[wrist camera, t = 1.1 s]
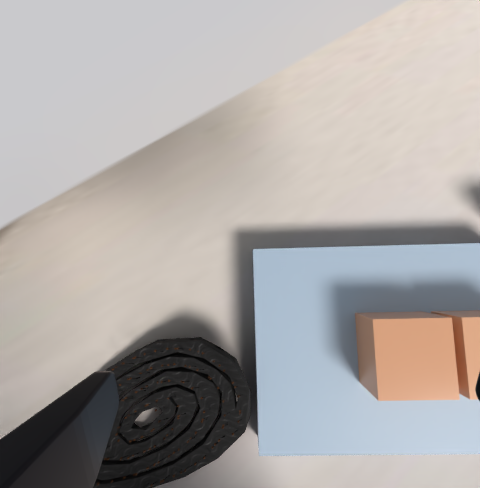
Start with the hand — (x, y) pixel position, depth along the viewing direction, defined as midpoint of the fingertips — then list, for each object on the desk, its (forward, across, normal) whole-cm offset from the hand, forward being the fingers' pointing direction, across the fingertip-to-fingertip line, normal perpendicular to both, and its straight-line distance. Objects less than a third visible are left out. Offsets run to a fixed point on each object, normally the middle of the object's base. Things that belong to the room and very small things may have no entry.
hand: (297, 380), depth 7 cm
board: (+11, -8, +6) cm, 15 cm away
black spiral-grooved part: (+9, +12, +14) cm, 20 cm away
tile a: (+9, -7, +6) cm, 13 cm away
